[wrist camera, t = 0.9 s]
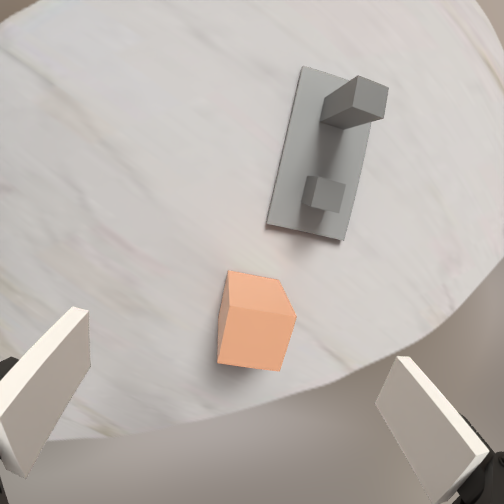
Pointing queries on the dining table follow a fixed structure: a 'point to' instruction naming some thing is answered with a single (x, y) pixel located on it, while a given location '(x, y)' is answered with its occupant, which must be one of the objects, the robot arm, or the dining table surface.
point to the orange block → (254, 322)
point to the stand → (324, 152)
